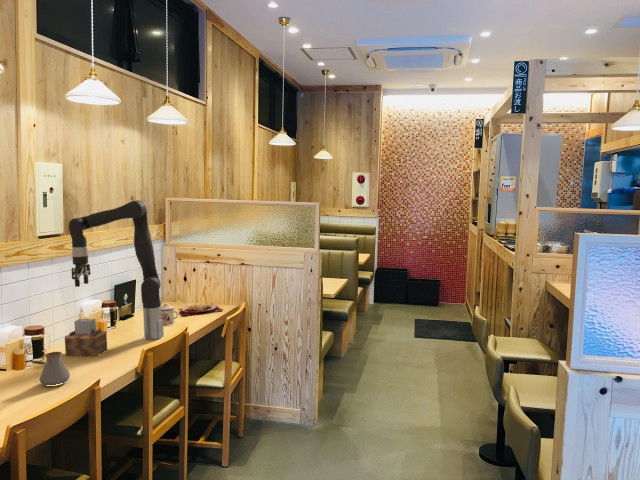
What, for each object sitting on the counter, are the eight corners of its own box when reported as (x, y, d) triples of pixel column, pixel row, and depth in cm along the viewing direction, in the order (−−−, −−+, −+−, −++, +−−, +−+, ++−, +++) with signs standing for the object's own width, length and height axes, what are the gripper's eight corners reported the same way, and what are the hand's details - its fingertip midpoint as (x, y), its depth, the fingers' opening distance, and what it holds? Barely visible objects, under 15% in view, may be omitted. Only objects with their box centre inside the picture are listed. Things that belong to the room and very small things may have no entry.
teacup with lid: (156, 324, 306) (155, 305, 305) (163, 320, 315) (162, 301, 314) (175, 324, 304) (174, 305, 303) (181, 320, 313) (180, 302, 312)
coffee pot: (49, 378, 220) (47, 344, 219) (75, 378, 220) (73, 344, 218) (19, 399, 199) (16, 361, 197) (47, 399, 198) (45, 361, 197)
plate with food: (223, 312, 335) (223, 307, 335) (183, 317, 323) (183, 311, 322) (212, 305, 357) (212, 300, 357) (174, 309, 344) (174, 304, 344)
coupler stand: (107, 350, 258) (106, 328, 257) (97, 356, 248) (95, 334, 247) (77, 349, 259) (75, 328, 258) (65, 356, 249) (64, 333, 248)
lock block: (96, 332, 255) (95, 318, 254) (90, 335, 250) (90, 321, 249) (80, 332, 255) (79, 318, 255) (74, 335, 250) (73, 321, 250)
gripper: (79, 257, 264) (81, 287, 266) (93, 253, 278) (95, 282, 280) (65, 257, 265) (67, 287, 266) (80, 253, 279) (82, 282, 281)
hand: (82, 285), depth 273 cm, fingers open, 8 cm apart
